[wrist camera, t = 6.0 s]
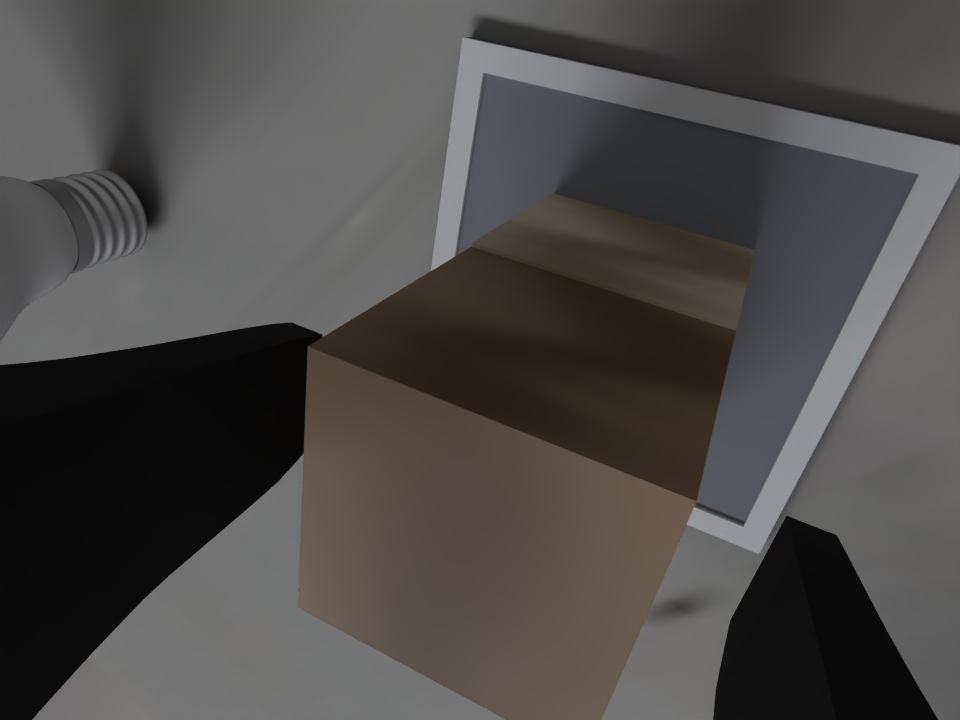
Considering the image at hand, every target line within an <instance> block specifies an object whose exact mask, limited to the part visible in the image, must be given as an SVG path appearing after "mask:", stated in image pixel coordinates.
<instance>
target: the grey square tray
mask: <svg viewBox="0 0 960 720" xmlns="http://www.w3.org/2000/svg"><path fill="white" fill-rule="evenodd" d="M959 176H960V144H957V143H952V142H948V141H943V140H938V139H934V138H929V137H925V136H920V135H915V134H911V133H906V132H902V131H897V130H893V129H888V128H883V127H879V126H874V125H870V124H865V123H860V122H856V121H851V120H847V119H842V118H837V117H833V116H828V115H824V114H819V113H815V112H810V111H805V110H801V109H796V108H792V107H787V106H782V105H778V104H773V103H769V102H764V101H760V100H755V99H750V98H746V97H741V96H737V95H732V94H727V93H723V92H718V91H714V90H709V89H704V88H700V87H695V86H691V85H686V84H682V83H677V82H672V81H668V80H663V79H659V78H654V77H649V76H645V75H640V74H636V73H631V72H626V71H622V70H617V69H613V68H608V67H604V66H599V65H594V64H590V63H585V62H581V61H576V60H571V59H567V58H562V57H558V56H553V55H549V54H544V53H539V52H535V51H530V50H526V49H521V48H516V47H512V46H507V45H503V44H498V43H493V42H489V41H484V40H480V39H475V38H471V37H463V39H462V46H461V54H460V61H459V68H458V76H457V83H456V90H455V98H454V105H453V112H452V120H451V127H450V134H449V142H448V149H447V156H446V164H445V171H444V178H443V186H442V193H441V200H440V208H439V215H438V222H437V230H436V237H435V244H434V252H433V259H432V266H431V271H432V270H434V269H435V268H437V267H439V266H440V265H442V264H444V263H445V262H447V261H449V260H450V259H452V258H453V257H455V256H457V255H458V254H460V253H462V252H463V251H465V250H467V249H468V248H470V247H471V244H472V242H474V241H476V240H477V239H479V238H481V237H482V236H484V235H486V234H487V233H489V232H491V231H492V230H494V229H496V228H497V227H499V226H501V225H502V224H504V223H506V222H507V221H509V220H511V219H512V218H514V217H516V216H517V215H519V214H521V213H522V212H524V211H526V210H527V209H529V208H531V207H532V206H534V205H536V204H537V203H539V202H541V201H542V200H544V199H546V198H547V197H549V196H551V195H552V194H558V195H562V196H565V197H569V198H572V199H576V200H579V201H583V202H586V203H590V204H593V205H597V206H600V207H604V208H608V209H611V210H615V211H618V212H622V213H625V214H629V215H632V216H636V217H639V218H643V219H647V220H650V221H654V222H657V223H661V224H664V225H668V226H671V227H675V228H678V229H682V230H686V231H689V232H693V233H696V234H700V235H703V236H707V237H710V238H714V239H717V240H721V241H725V242H728V243H732V244H735V245H739V246H742V247H746V248H749V249H753V250H755V252H754V257H753V261H752V265H751V270H750V274H749V278H748V283H747V287H746V291H745V296H744V300H743V305H742V309H741V313H740V318H739V322H738V326H737V329H736V333H735V337H734V342H733V346H732V350H731V355H730V359H729V363H728V368H727V372H726V376H725V381H724V385H723V389H722V394H721V398H720V402H719V407H718V411H717V415H716V419H715V424H714V428H713V432H712V437H711V441H710V445H709V450H708V454H707V458H706V463H705V467H704V471H703V476H702V480H701V484H700V489H699V493H698V497H697V502H696V504H695V506H694V508H693V511H692V513H691V515H690V518H689V520H688V522H687V525H689V526H692V527H694V528H696V529H699V530H701V531H704V532H706V533H709V534H711V535H714V536H716V537H718V538H721V539H723V540H726V541H728V542H731V543H733V544H735V545H738V546H740V547H743V548H745V549H748V550H750V551H752V552H755V553H757V554H759V553H760V551H761V550H762V548H763V546H764V544H765V542H766V540H767V538H768V536H769V534H770V533H771V531H772V529H773V527H774V525H775V523H776V521H777V519H778V517H779V516H780V514H781V512H782V510H783V508H784V506H785V504H786V502H787V500H788V499H789V497H790V495H791V493H792V491H793V489H794V487H795V485H796V483H797V482H798V480H799V478H800V476H801V474H802V472H803V470H804V468H805V467H806V465H807V463H808V461H809V459H810V457H811V455H812V453H813V451H814V450H815V448H816V446H817V444H818V442H819V440H820V438H821V436H822V434H823V433H824V431H825V429H826V427H827V425H828V423H829V421H830V419H831V417H832V416H833V414H834V412H835V410H836V408H837V406H838V404H839V402H840V400H841V399H842V397H843V395H844V393H845V391H846V389H847V387H848V385H849V384H850V382H851V380H852V378H853V376H854V374H855V372H856V370H857V368H858V367H859V365H860V363H861V361H862V359H863V357H864V355H865V353H866V351H867V350H868V348H869V346H870V344H871V342H872V340H873V338H874V336H875V334H876V333H877V331H878V329H879V327H880V325H881V323H882V321H883V319H884V317H885V316H886V314H887V312H888V310H889V308H890V306H891V304H892V302H893V300H894V299H895V297H896V295H897V293H898V291H899V289H900V287H901V285H902V284H903V282H904V280H905V278H906V276H907V274H908V272H909V270H910V268H911V267H912V265H913V263H914V261H915V259H916V257H917V255H918V253H919V251H920V250H921V248H922V246H923V244H924V242H925V240H926V238H927V236H928V234H929V233H930V231H931V229H932V227H933V225H934V223H935V221H936V219H937V217H938V216H939V214H940V212H941V210H942V208H943V206H944V204H945V202H946V201H947V199H948V197H949V195H950V193H951V191H952V189H953V187H954V185H955V184H956V182H957V180H958V178H959Z"/></svg>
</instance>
